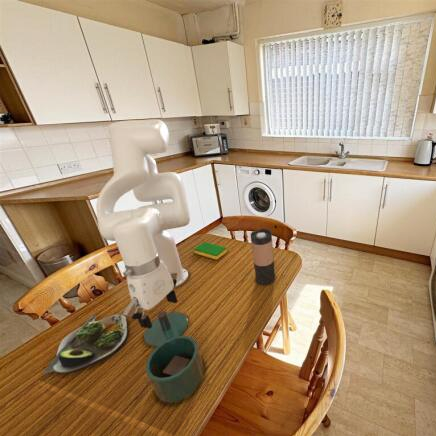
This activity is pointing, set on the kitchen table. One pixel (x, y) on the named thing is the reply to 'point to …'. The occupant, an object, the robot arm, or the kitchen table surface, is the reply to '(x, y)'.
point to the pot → (182, 381)
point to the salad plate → (89, 345)
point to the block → (175, 366)
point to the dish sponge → (210, 250)
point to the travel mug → (263, 255)
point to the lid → (165, 328)
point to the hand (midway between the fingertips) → (160, 313)
